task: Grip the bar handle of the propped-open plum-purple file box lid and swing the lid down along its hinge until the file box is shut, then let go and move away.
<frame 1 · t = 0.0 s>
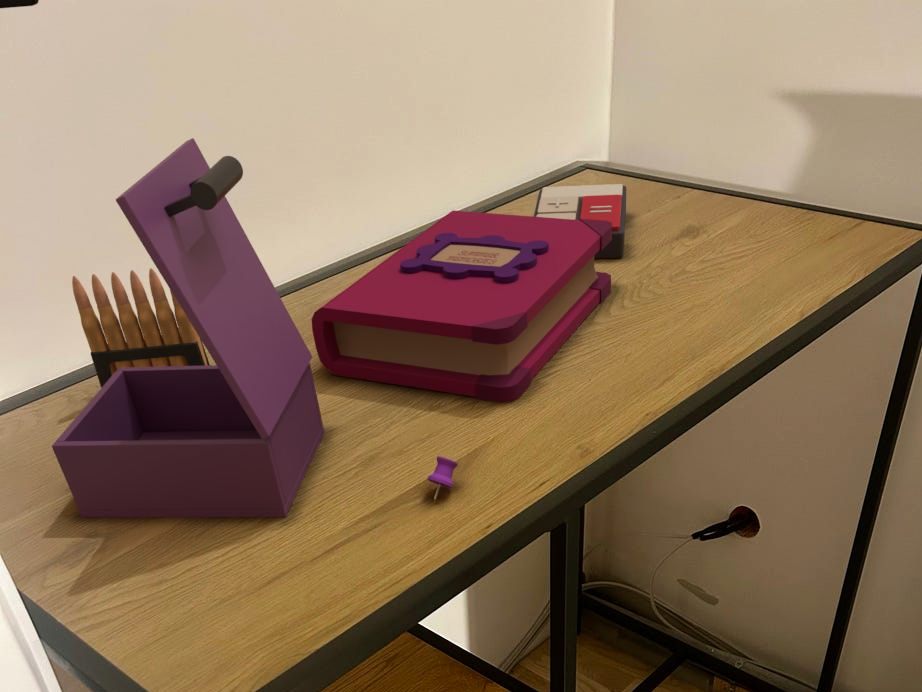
book: (476, 330, 100), on the table
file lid: (250, 280, 70), point 16 cm above the table, hinge at 72.0°
calculator: (579, 239, 118), on the table
pushpin: (444, 493, 77), on the table
file box: (208, 473, 82), on the table
ammunition clip: (161, 394, 94), on the table
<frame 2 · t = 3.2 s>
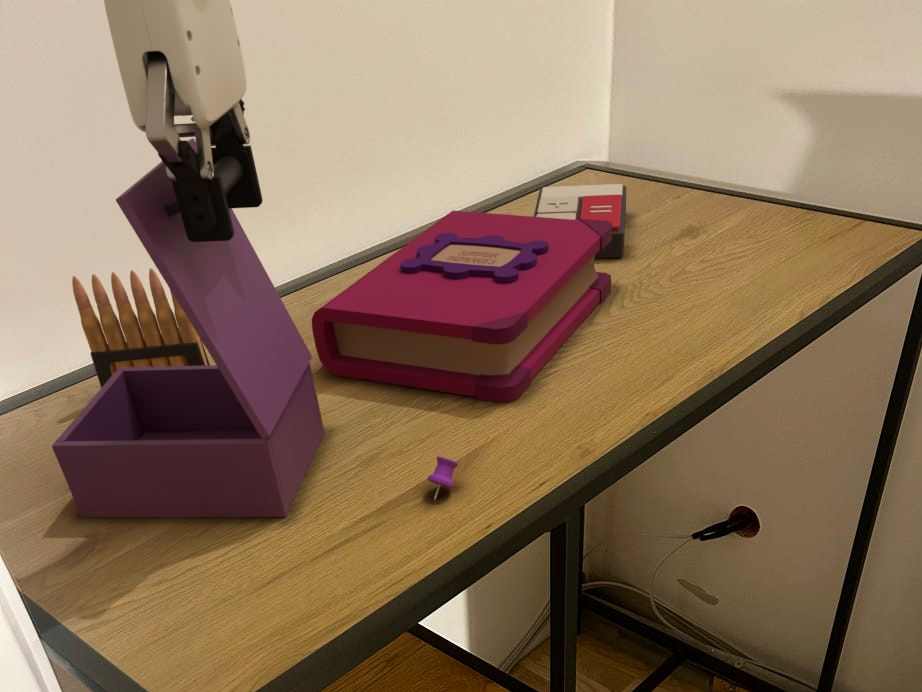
hand: (226, 220, 67), 21 cm above the table, tool pointing down, fingers closed on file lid, 6 cm apart
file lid: (250, 280, 70), point 16 cm above the table, hinge at 72.0°, touching gripper
everything else where it was.
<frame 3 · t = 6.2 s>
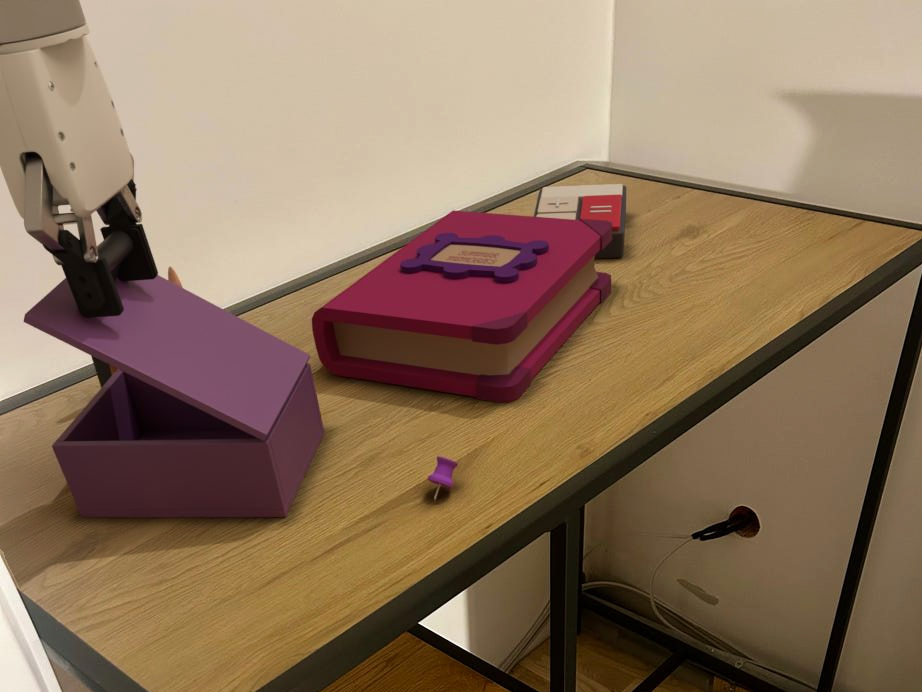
hand: (121, 294, 72), 16 cm above the table, tool pointing down, fingers closed on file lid, 6 cm apart
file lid: (187, 318, 73), point 14 cm above the table, hinge at 32.3°, touching gripper
everything else where it was.
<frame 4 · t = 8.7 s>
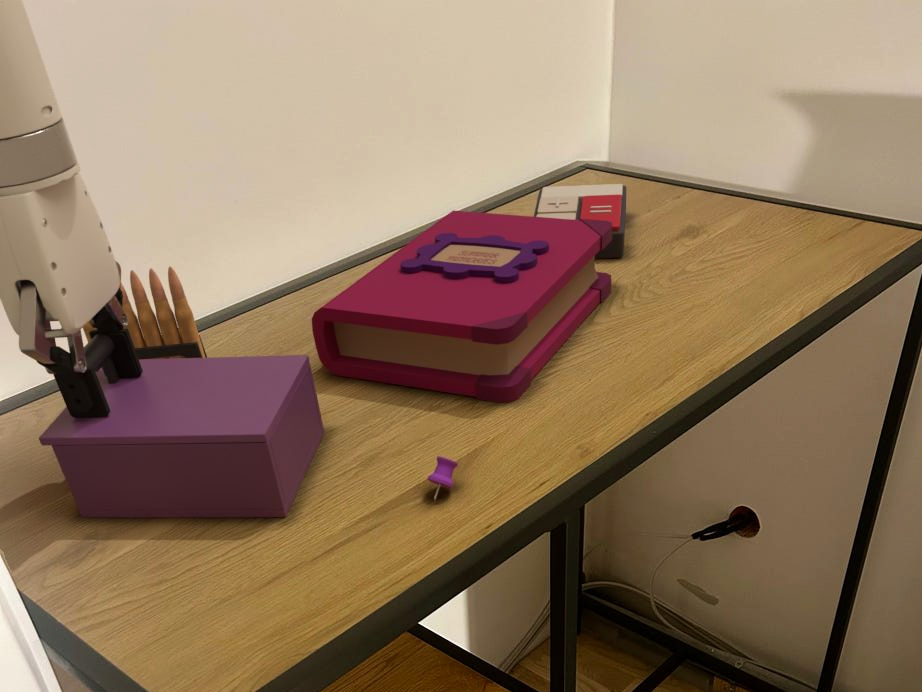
hand: (108, 393, 78), 8 cm above the table, tool pointing down, fingers closed on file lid, 6 cm apart
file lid: (173, 375, 76), point 9 cm above the table, hinge at -0.2°, touching file box, gripper
everything else where it was.
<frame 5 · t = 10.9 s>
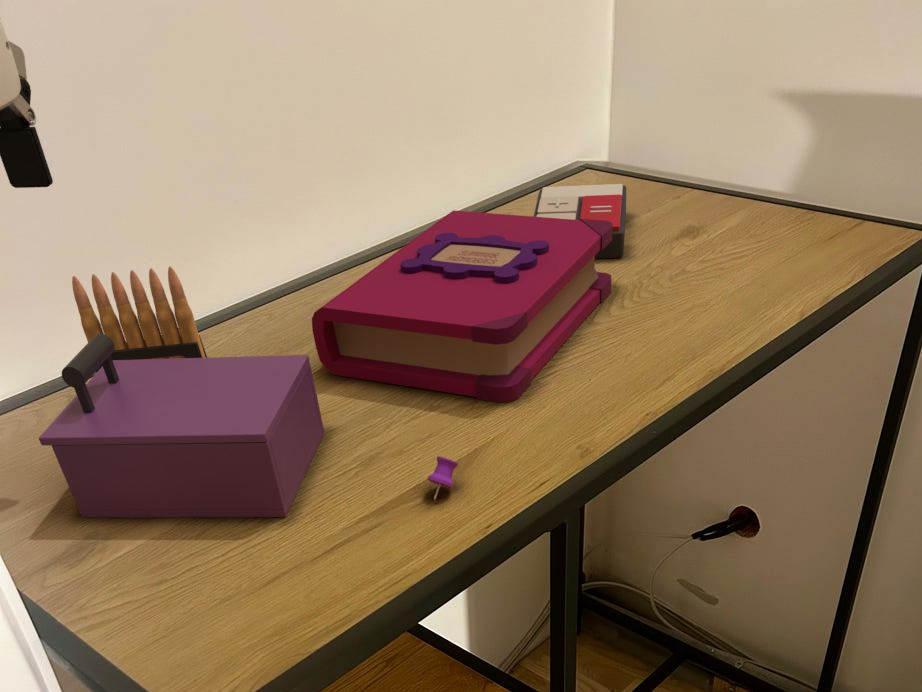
hand: (1, 207, 69), 22 cm above the table, tool pointing down, fingers open, 9 cm apart
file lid: (173, 375, 76), point 9 cm above the table, hinge at -0.2°, touching file box
everything else where it was.
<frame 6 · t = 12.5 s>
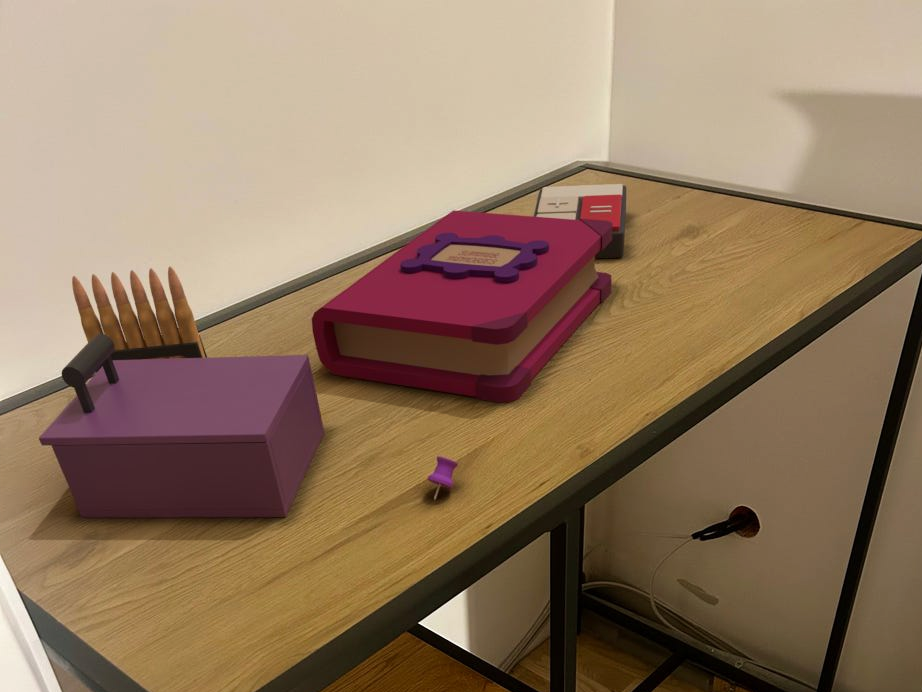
nothing on the table moved.
at the end: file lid at +0° (first picture: +72°) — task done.
